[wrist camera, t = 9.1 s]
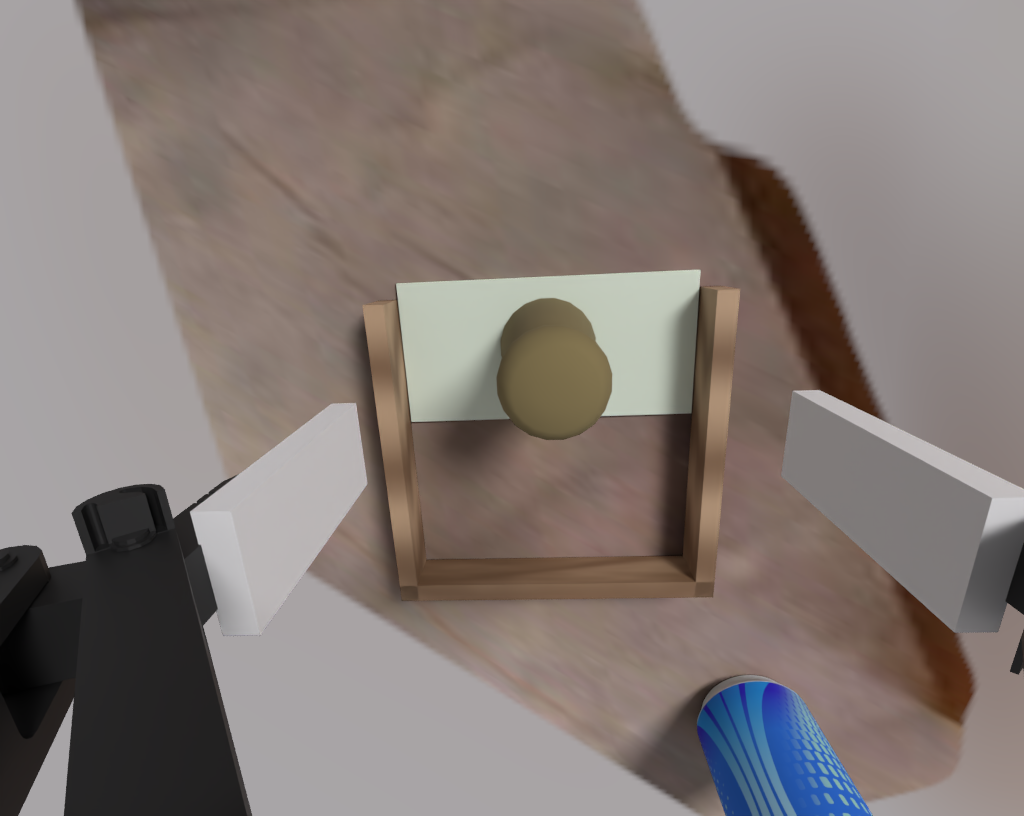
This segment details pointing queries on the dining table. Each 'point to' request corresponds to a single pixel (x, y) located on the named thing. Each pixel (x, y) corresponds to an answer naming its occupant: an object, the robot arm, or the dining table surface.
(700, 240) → the dining table surface
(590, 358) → the olive chess pawn
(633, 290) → the front pad
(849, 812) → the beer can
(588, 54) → the dining table surface
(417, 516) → the bay
